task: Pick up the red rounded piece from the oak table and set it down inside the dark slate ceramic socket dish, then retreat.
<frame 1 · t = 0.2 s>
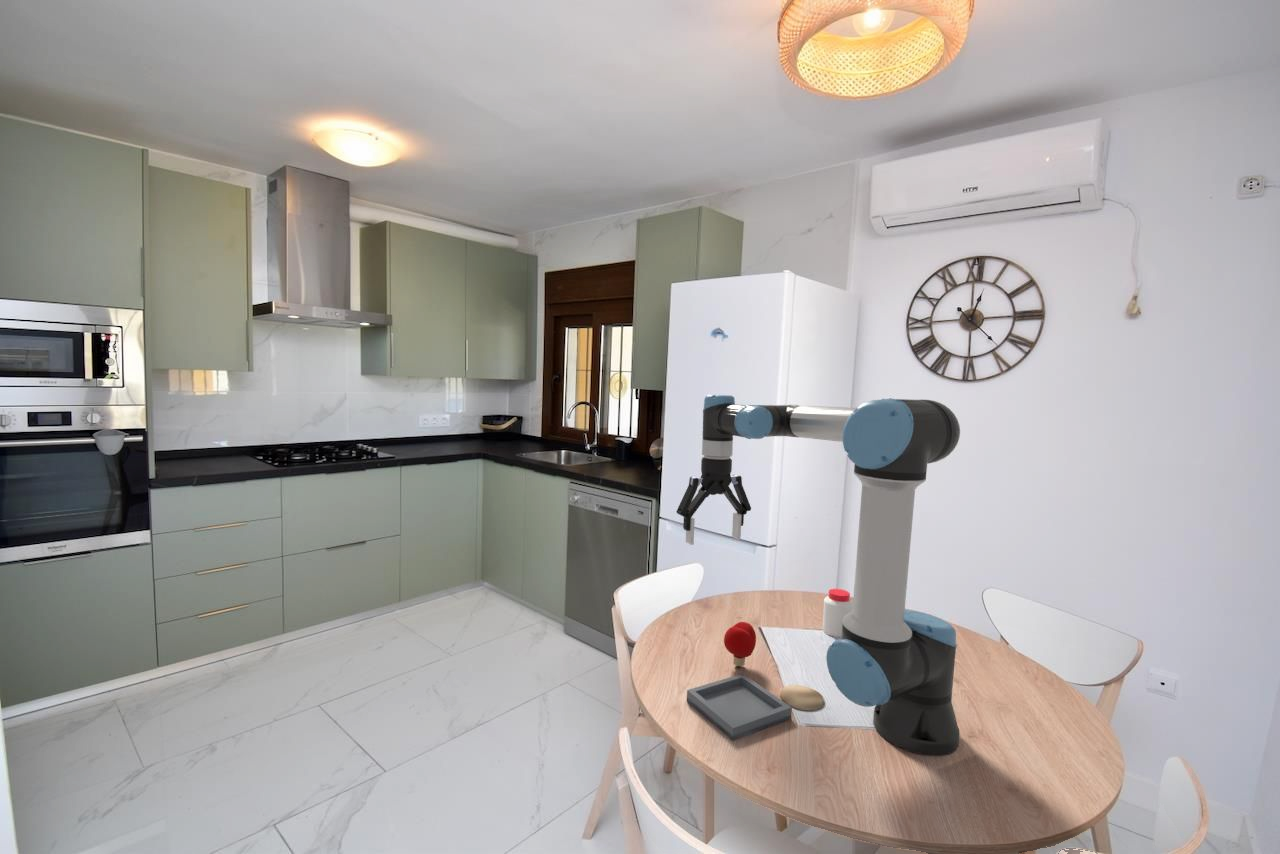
hand: (713, 540, 146), 27 cm above the table, fingers open, 13 cm apart
cork coaster: (801, 698, 124), on the table
socket dish: (737, 709, 119), on the table
red rounded piece: (738, 667, 137), on the table
pill bottle: (836, 632, 158), on the table
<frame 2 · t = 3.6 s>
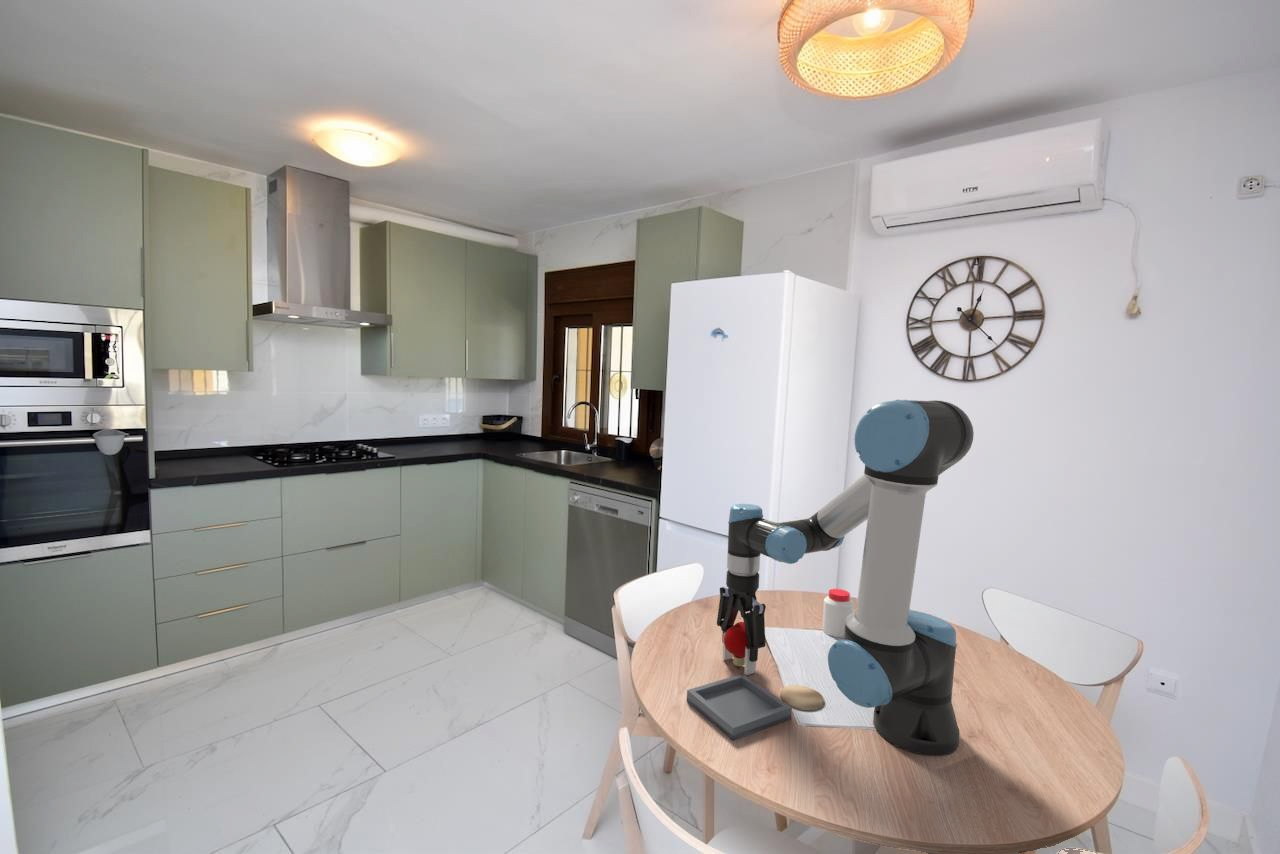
hand: (738, 665, 137), 0 cm above the table, fingers closed on red rounded piece, 7 cm apart
red rounded piece: (738, 667, 137), on the table, touching gripper
everything else where it was.
when the fingers open (3 cm above the table, at t = 9.4 s): red rounded piece stays where it is, point 2 cm above the table.
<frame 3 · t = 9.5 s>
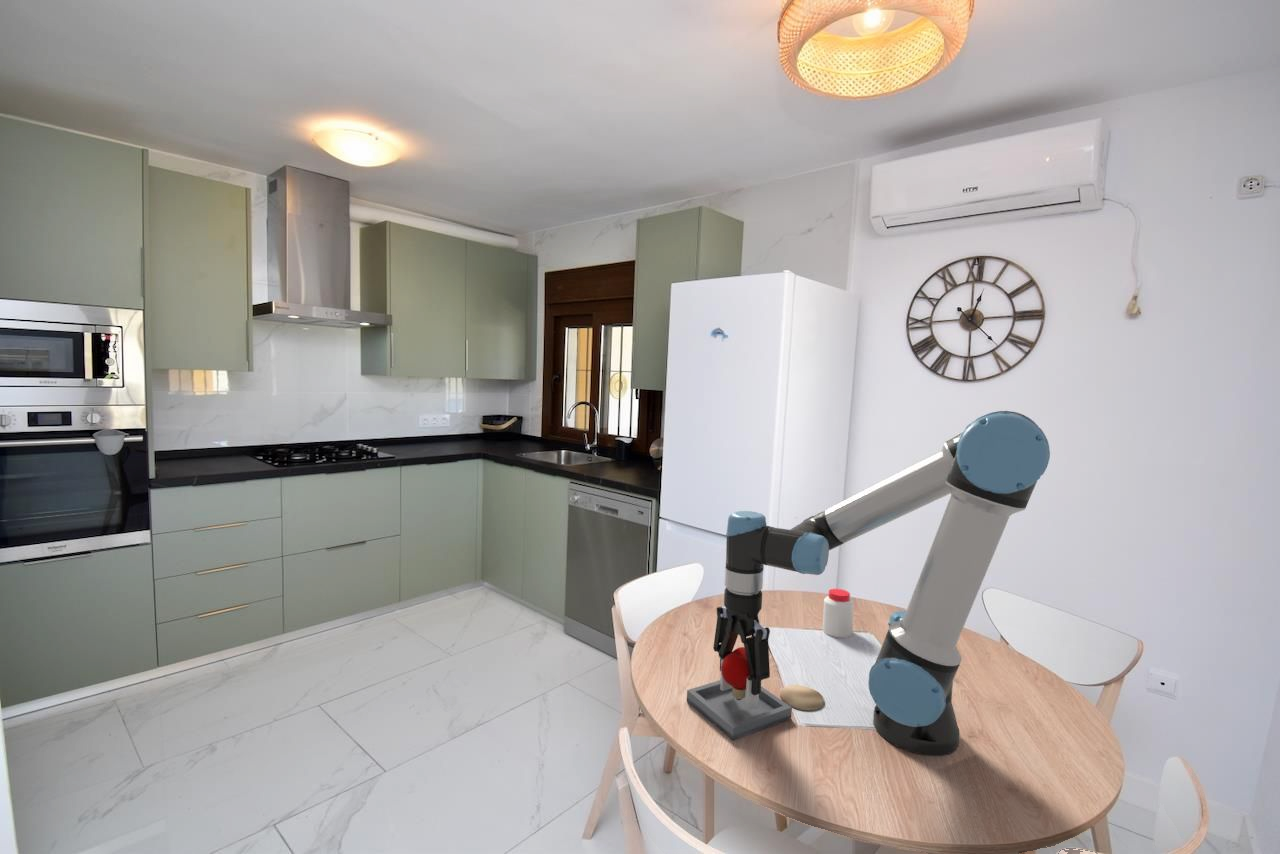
hand: (738, 697, 119), 3 cm above the table, fingers open, 7 cm apart
red rounded piece: (738, 700, 119), point 2 cm above the table
everything else where it was.
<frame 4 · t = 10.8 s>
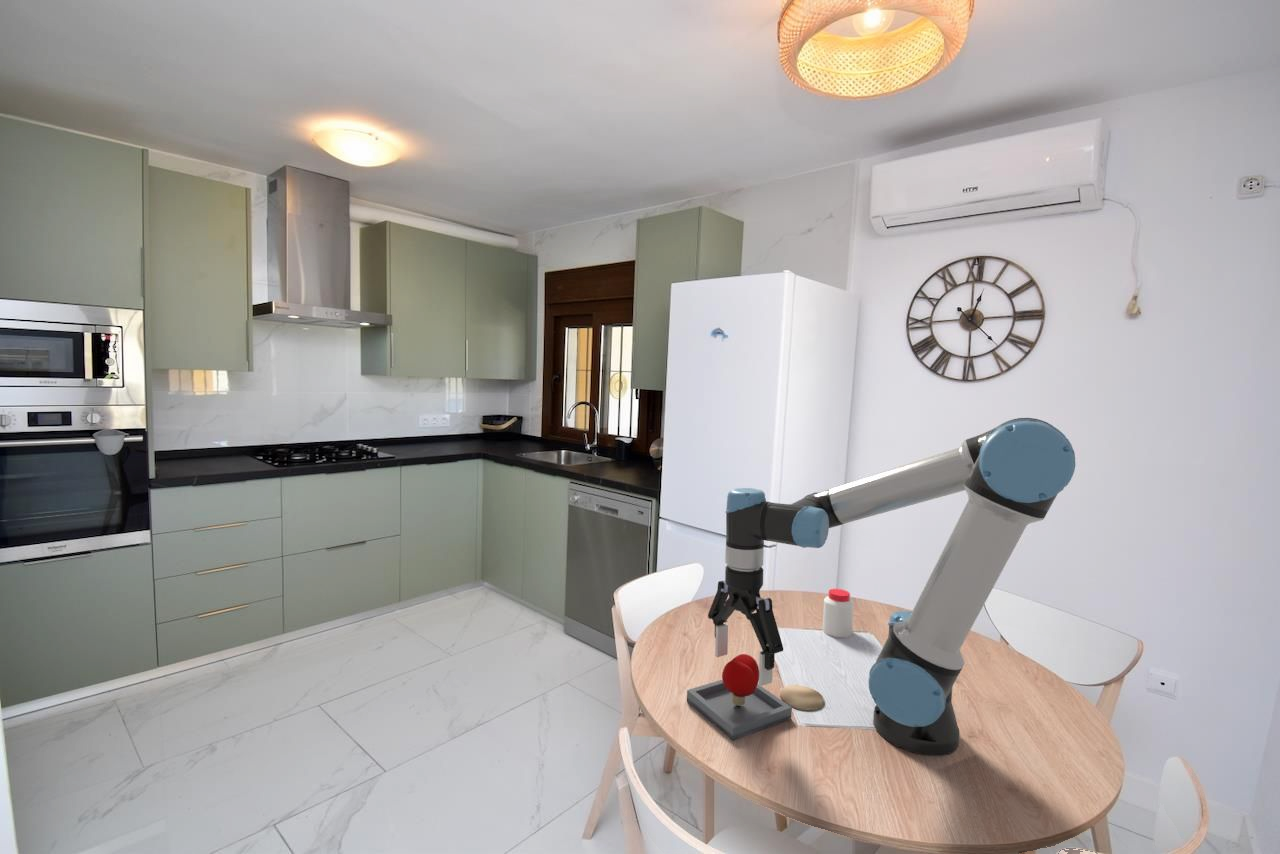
hand: (742, 668, 118), 9 cm above the table, fingers open, 13 cm apart
red rounded piece: (737, 706, 119), point 1 cm above the table, touching socket dish
everything else where it was.
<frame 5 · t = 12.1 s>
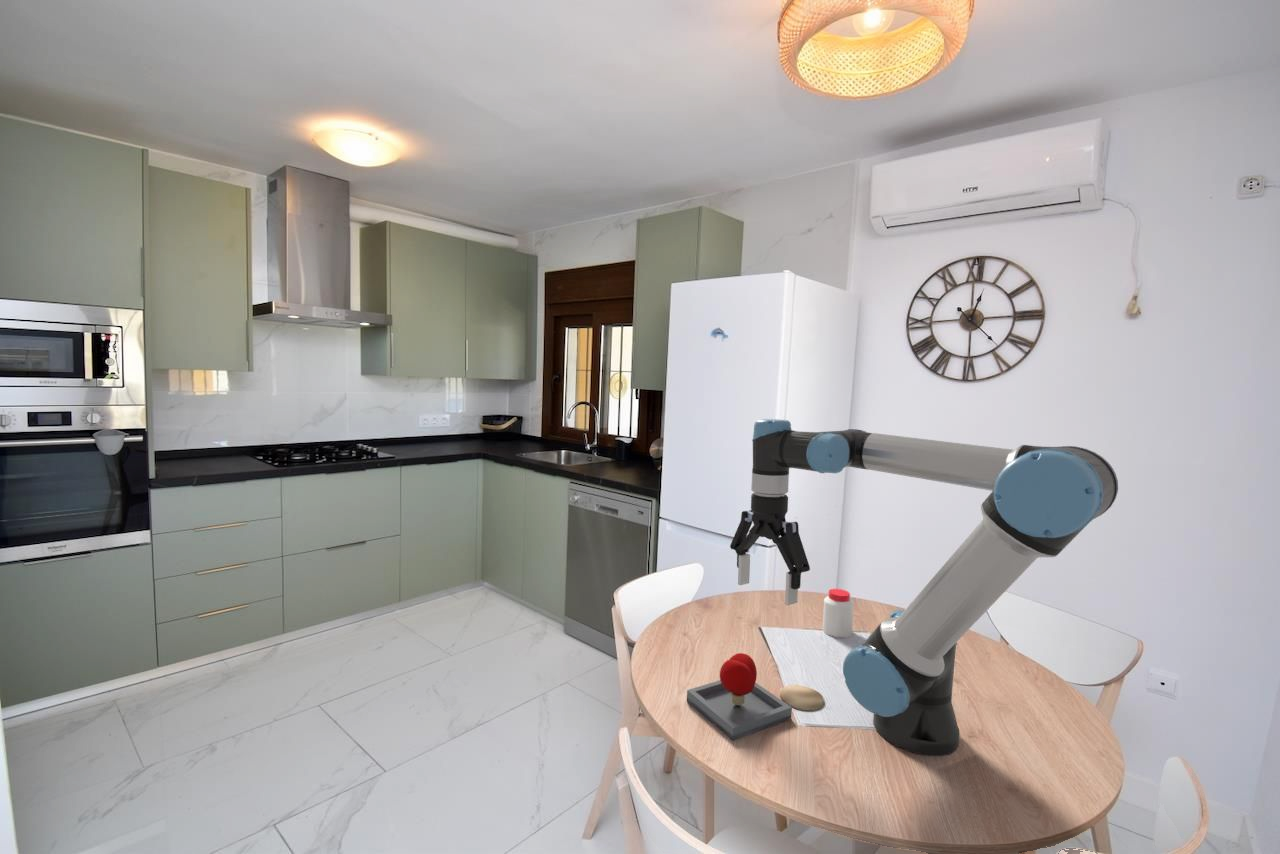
hand: (766, 593, 122), 23 cm above the table, fingers open, 13 cm apart
nothing on the table moved.
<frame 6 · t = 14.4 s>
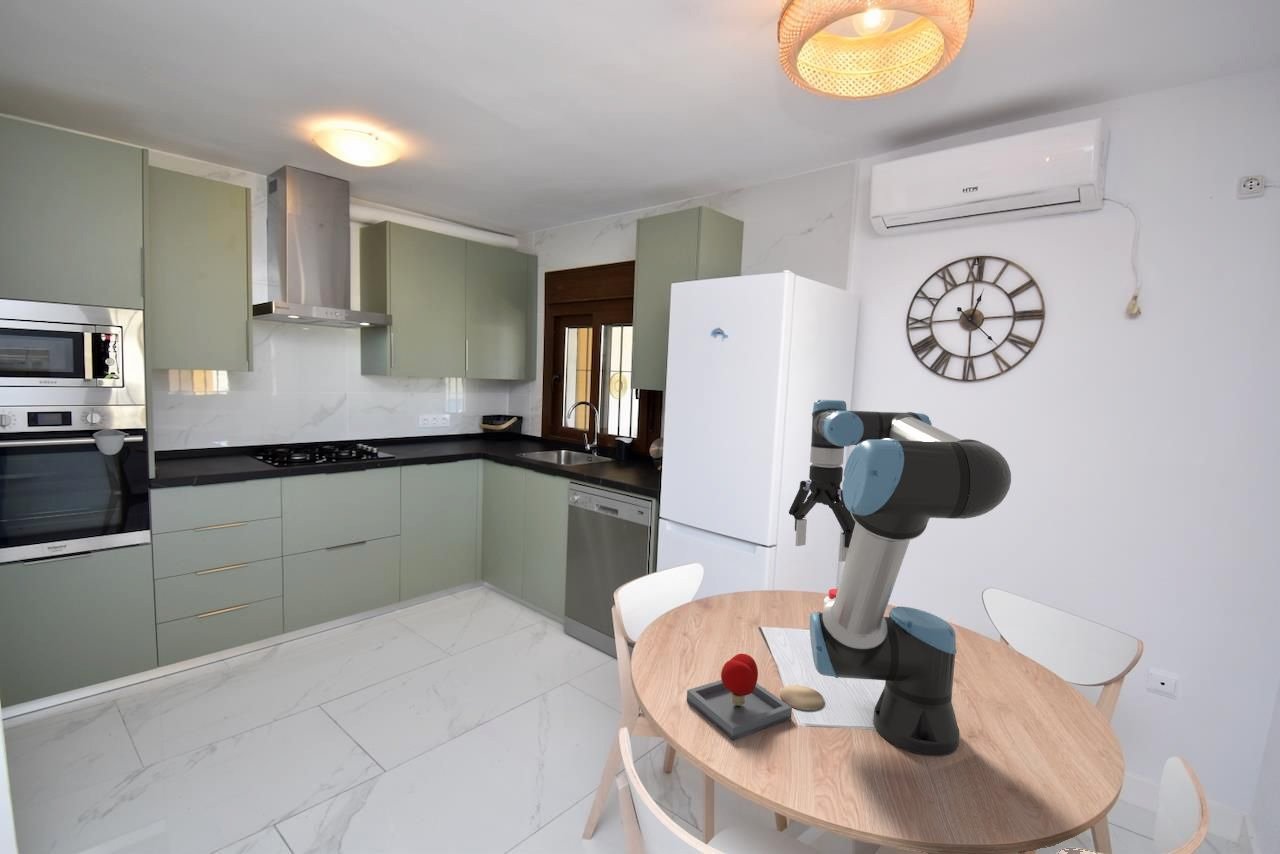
hand: (821, 552, 139), 27 cm above the table, fingers open, 13 cm apart
nothing on the table moved.
at the end: red rounded piece inside the target area on the socket dish (0.0 cm from its centre), point 0.6 cm above the socket dish's base; the gripper is holding nothing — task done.
